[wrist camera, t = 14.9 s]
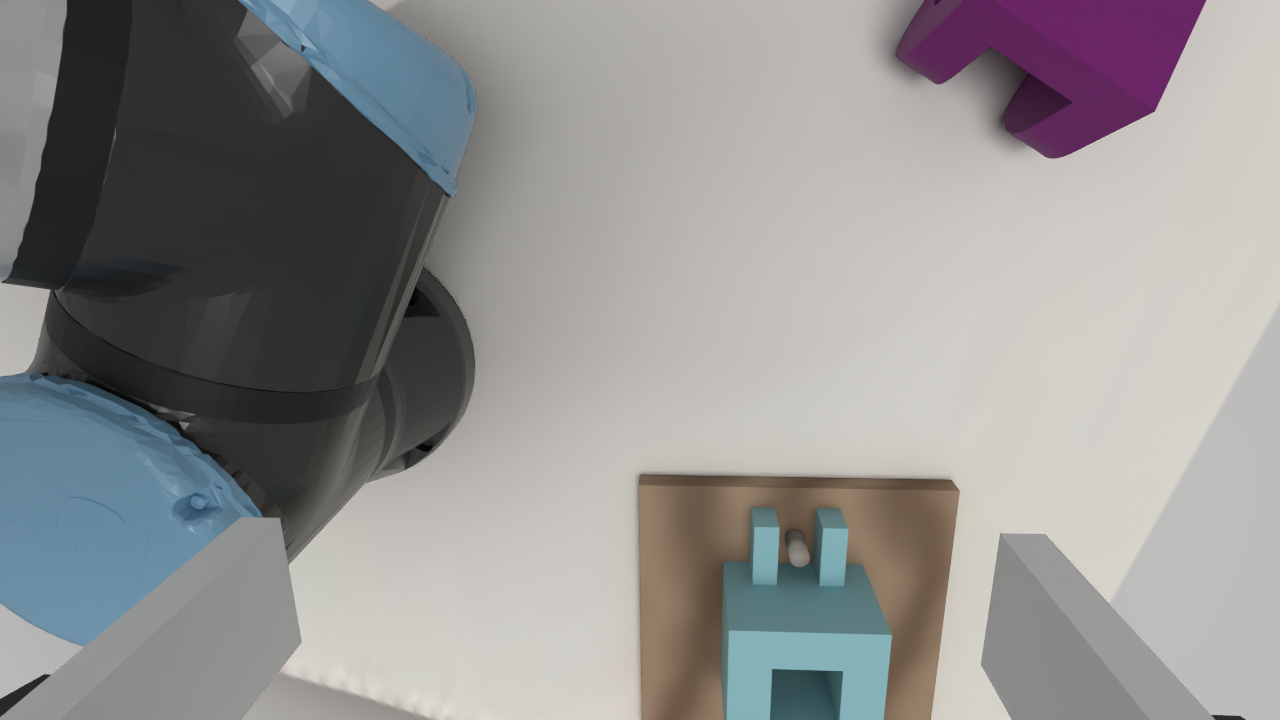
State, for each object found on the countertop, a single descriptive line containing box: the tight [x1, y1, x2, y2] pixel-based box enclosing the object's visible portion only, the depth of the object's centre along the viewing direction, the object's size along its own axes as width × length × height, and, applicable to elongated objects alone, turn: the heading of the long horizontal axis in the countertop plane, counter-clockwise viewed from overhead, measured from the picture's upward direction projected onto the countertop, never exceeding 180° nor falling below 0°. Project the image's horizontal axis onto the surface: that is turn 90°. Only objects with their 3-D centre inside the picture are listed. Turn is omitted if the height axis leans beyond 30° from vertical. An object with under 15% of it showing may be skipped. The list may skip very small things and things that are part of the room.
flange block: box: [721, 507, 892, 720], centre depth 45 cm, size 17×9×7 cm, turn 1°
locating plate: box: [639, 475, 960, 720], centre depth 47 cm, size 20×20×4 cm
